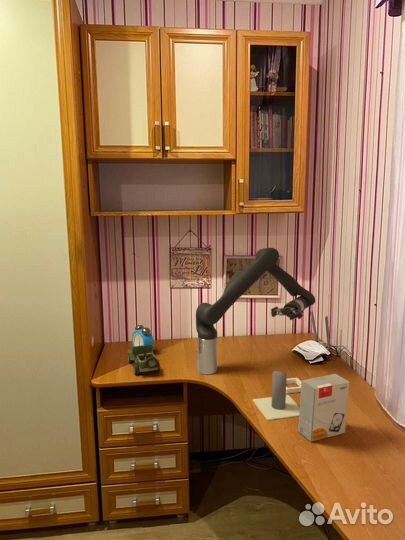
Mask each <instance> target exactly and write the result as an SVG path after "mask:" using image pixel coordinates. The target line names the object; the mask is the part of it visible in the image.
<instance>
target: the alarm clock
mask: <svg viewBox="0 0 405 540" xmlns="http://www.w3.org/2000/svg"><path fill="white" fill-rule="evenodd" d="M131 343H132V347H135V346H141V345H151V344H152V350H154V345H155V343H154V336H153V334H152V332H151V329H150V328H149V327H144V325H142V324H137V325H136V326H135V328H134V331H133V333H132V336H131Z"/></svg>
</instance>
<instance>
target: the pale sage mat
mask: <svg viewBox="0 0 405 540" xmlns="http://www.w3.org/2000/svg"><path fill="white" fill-rule="evenodd" d="M252 402H253V403H254V404H255V406H256V407H257V409H259V411H260V412H261V414H262V415H263V417H264V418H265V419H266V421H273V420H275V421H276V420H281V419H289V418H296V417H299V413H300V405H298V404H297V402H296V401H295V400H294V399H293V398H292V397H291V396H290V395H288V394H286V405H285V409H282V410H277V409H274V408H272V396H269V397H261V398H253V399H252Z"/></svg>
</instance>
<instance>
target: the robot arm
mask: <svg viewBox="0 0 405 540" xmlns="http://www.w3.org/2000/svg"><path fill="white" fill-rule="evenodd" d="M279 259H280V253H279V251H278V250H277V248H275V247H264V248H261V249H258V250H257V251H256V253H255V261H254V262H253V263H252V264H250V265H249V266H247V267H245V268H243V269H242V270H241V271H239V272H238V273H237V274H235V275H234V276H233V277H232V278H231V279H230V280H229V281H228V282H227V283H226V285H225V288H224V291H223V293H222V295H221V296H220V297H219V298H218V300H216V301H215V302H214V303H212V304H211V303H208V302H201V303H200V304H199V305H198V306H197V307H196V310H195V328H196V332H197V350H196V370H197V372H198V374H199V375H201V374H202V375H213V374H215V373H217V371H218V331H217V329H216V327H215V326H214V325H215V324H217V323H218V322H219V321H220V320H221V319H222V318H223V317H224V315H225V314H226V313H227V312H228V310H230V308H231V307H232V306H233V305H234V304H235V303H236V302H237V301H238V300H239V299H240V298H241V297H242V296H243V295H244V294H245V293H246V292H247V291H248V290H249V289H250V288H251V287H252V286H253V285H254V284H255V283H256V282H257V281H258V280H259V278H261V277H262V276H263V274H265V273H266V272H268V273H269V274H270V275H271V276H272V277H273V278H274V279H275V280H276V281H277V282H278V283H279V284H280V285H281V286H282V287H283V288H284V289H285V291H286V292H287V293H288V294H289V295H290V296H291V297H296V296H297V297H296V298H294V299H292V300H290V301H288V302H286V304H284V306H283V307H278V306H275V307H273V308H271V310H270V315H271V317H272V318H274V317H276V316H279V317H282V316H284V317H285V316H286V317H287V318H289V320H290V321H292V320H294V319H298V320H301V319H302V318H303V317H304V311H305V310H306V309H308V308H309V307H312V306H313V305H315V303H316V297H315V295H314V294H313V293H312V292H310V291H309V290H307V289H306V288H305V287H304V286H302V285H301V284H300V283H299V282H298V281H297V280H296V279H295V277H294V276H292V274H290V273H288V272H287V271H286V270H285V269H283V268H281V266H279V264H278V261H279Z"/></svg>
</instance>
